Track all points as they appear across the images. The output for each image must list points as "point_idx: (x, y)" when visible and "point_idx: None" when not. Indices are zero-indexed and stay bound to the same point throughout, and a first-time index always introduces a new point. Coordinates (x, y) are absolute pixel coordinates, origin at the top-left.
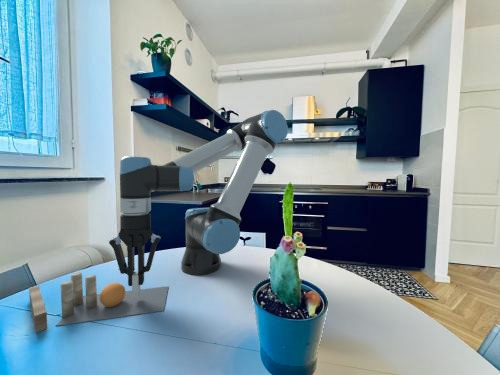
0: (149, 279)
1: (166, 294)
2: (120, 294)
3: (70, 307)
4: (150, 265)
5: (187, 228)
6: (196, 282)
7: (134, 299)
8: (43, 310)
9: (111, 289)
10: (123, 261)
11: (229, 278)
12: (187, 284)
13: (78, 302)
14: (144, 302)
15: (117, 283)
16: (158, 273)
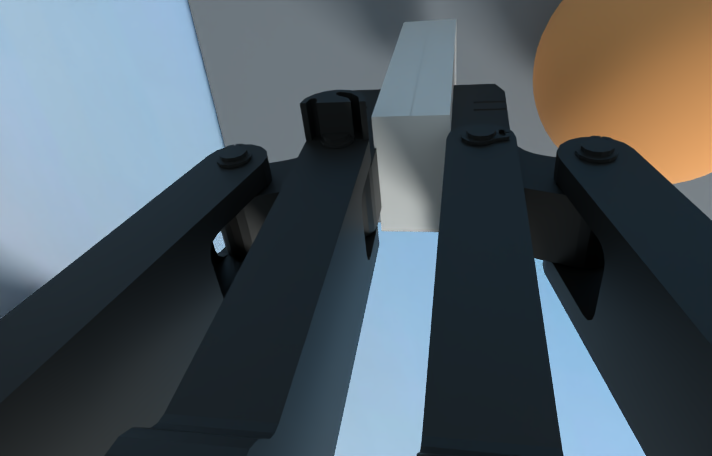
0: (411, 339)
1: (216, 106)
2: (572, 13)
3: None
4: (169, 191)
5: None
6: (67, 231)
7: (456, 84)
8: None
9: (693, 26)
10: (622, 298)
11: None
12: (120, 219)
13: None
14: (359, 15)
15: (635, 136)
16: (369, 392)
